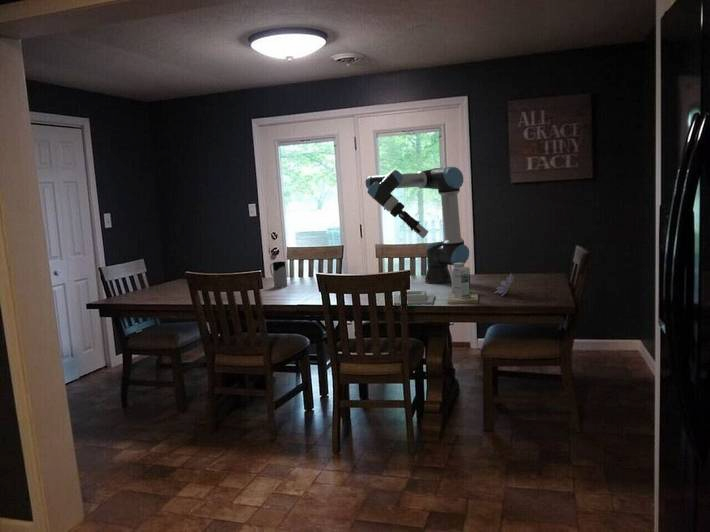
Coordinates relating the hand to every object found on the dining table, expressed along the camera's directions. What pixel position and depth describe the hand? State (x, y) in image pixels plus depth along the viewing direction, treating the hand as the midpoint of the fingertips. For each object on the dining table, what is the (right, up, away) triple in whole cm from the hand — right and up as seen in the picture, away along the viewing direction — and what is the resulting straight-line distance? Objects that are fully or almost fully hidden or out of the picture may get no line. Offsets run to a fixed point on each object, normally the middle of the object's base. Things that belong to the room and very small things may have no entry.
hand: (426, 235), depth 294 cm
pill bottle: (+19, -29, +12) cm, 37 cm away
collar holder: (-7, -32, -4) cm, 33 cm away
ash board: (+17, -32, -9) cm, 37 cm away
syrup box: (+17, -31, -9) cm, 36 cm away
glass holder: (-82, -28, +67) cm, 110 cm away
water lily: (+38, -30, -3) cm, 49 cm away
